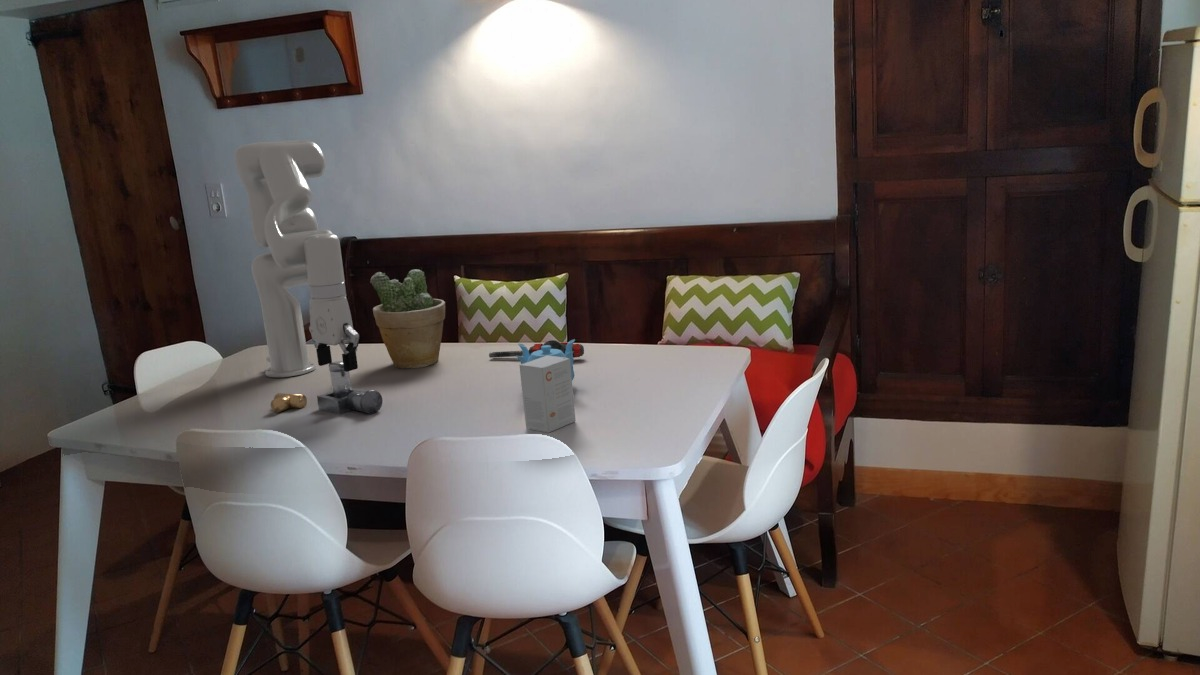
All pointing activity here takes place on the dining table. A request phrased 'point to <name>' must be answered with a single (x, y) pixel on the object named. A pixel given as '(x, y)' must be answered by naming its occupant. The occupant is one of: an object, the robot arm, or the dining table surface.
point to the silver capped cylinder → (339, 380)
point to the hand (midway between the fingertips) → (338, 367)
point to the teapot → (547, 354)
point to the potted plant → (409, 319)
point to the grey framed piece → (351, 402)
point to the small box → (547, 393)
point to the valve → (554, 344)
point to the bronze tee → (287, 401)
